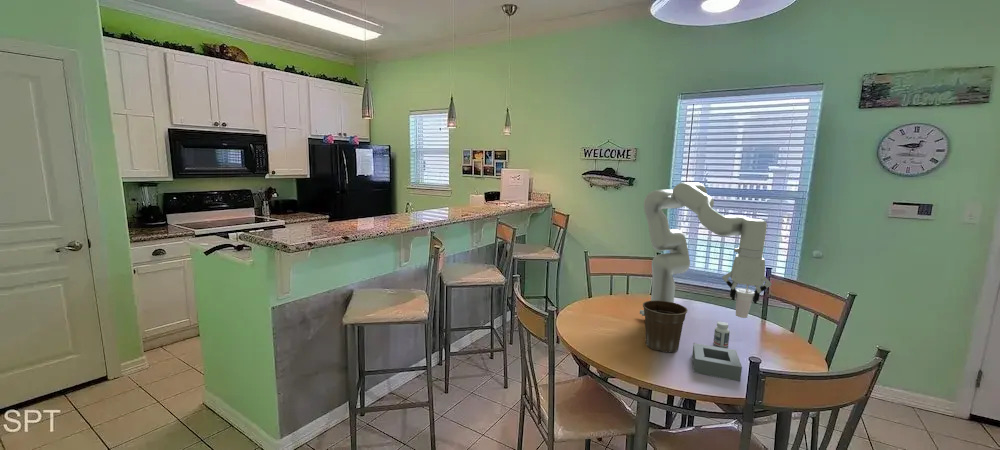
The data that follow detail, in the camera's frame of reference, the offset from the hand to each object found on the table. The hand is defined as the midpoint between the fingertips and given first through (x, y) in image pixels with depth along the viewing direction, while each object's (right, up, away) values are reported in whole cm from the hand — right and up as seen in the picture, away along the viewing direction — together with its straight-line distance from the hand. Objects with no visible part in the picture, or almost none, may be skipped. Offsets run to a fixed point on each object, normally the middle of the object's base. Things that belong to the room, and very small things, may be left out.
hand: (743, 300), depth 153 cm
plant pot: (-26, -20, +11) cm, 35 cm away
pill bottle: (-1, -20, +14) cm, 25 cm away
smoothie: (0, -6, +1) cm, 6 cm away
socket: (-14, -23, -6) cm, 27 cm away
